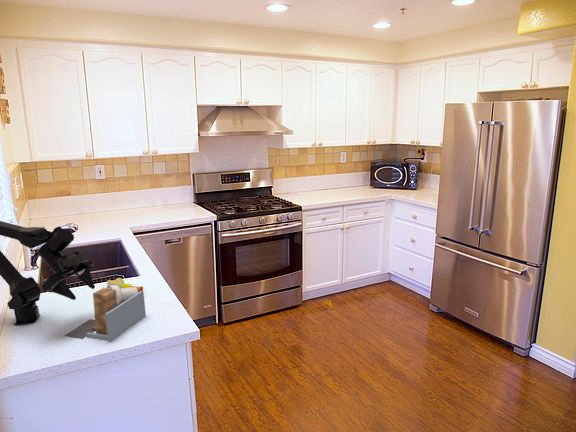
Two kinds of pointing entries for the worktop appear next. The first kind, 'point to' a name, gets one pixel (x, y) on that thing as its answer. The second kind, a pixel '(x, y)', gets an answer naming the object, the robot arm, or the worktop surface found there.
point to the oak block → (103, 307)
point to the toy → (122, 284)
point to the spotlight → (123, 292)
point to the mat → (82, 330)
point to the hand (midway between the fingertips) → (84, 293)
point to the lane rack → (122, 317)
